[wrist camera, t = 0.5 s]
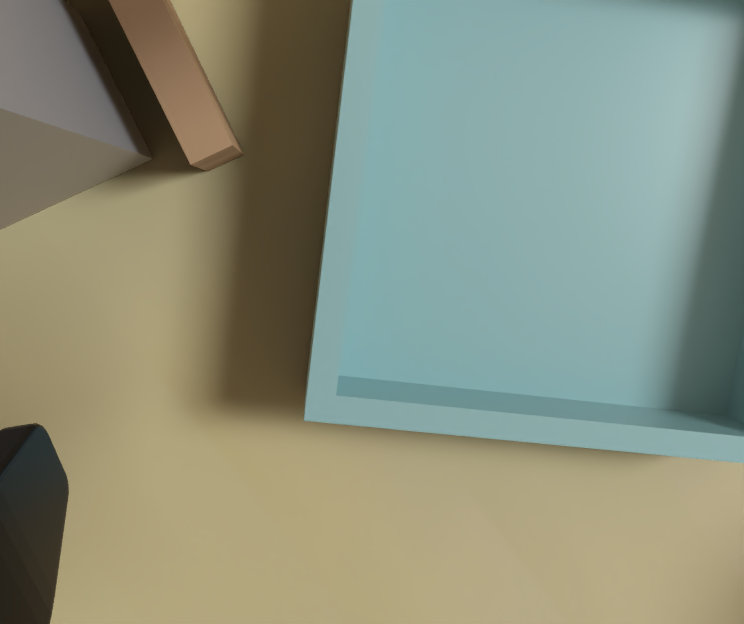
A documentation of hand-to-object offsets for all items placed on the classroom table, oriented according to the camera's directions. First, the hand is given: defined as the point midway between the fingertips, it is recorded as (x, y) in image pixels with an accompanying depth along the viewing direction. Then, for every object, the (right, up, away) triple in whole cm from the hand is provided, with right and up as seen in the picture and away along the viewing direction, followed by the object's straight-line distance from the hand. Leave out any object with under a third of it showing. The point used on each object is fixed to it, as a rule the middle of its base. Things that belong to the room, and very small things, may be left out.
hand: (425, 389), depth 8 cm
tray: (+5, +5, +13) cm, 15 cm away
